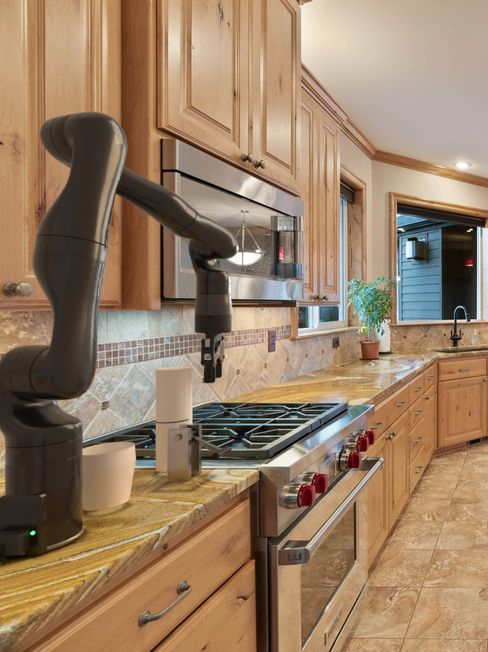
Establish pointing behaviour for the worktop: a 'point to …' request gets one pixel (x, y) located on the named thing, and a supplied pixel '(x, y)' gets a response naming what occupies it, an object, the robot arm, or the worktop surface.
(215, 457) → the lever
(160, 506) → the worktop surface
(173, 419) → the cylindrical container
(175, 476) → the bracket
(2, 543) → the robot arm
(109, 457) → the cup
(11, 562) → the worktop surface
